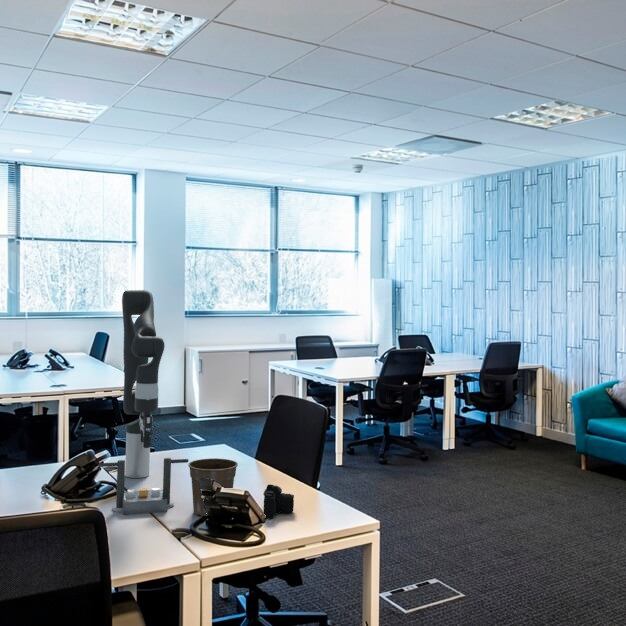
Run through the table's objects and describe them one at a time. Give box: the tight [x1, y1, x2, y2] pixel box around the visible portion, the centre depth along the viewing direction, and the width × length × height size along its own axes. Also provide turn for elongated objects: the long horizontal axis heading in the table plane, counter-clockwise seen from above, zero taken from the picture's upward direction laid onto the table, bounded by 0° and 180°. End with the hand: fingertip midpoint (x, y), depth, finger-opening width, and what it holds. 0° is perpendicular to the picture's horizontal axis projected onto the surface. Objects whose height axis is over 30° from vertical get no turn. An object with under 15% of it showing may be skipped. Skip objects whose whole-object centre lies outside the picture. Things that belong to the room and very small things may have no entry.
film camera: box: [262, 484, 295, 520], centre depth 223 cm, size 15×10×9 cm, turn 176°
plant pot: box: [187, 457, 239, 517], centre depth 221 cm, size 16×16×16 cm
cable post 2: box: [162, 457, 189, 509], centre depth 227 cm, size 5×10×16 cm, turn 110°
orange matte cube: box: [139, 487, 148, 497], centre depth 223 cm, size 2×2×2 cm
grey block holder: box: [122, 487, 168, 516], centre depth 223 cm, size 12×14×6 cm
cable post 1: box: [98, 459, 126, 513], centre depth 220 cm, size 5×10×16 cm, turn 110°
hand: (145, 444), depth 223 cm, fingers open, 8 cm apart
